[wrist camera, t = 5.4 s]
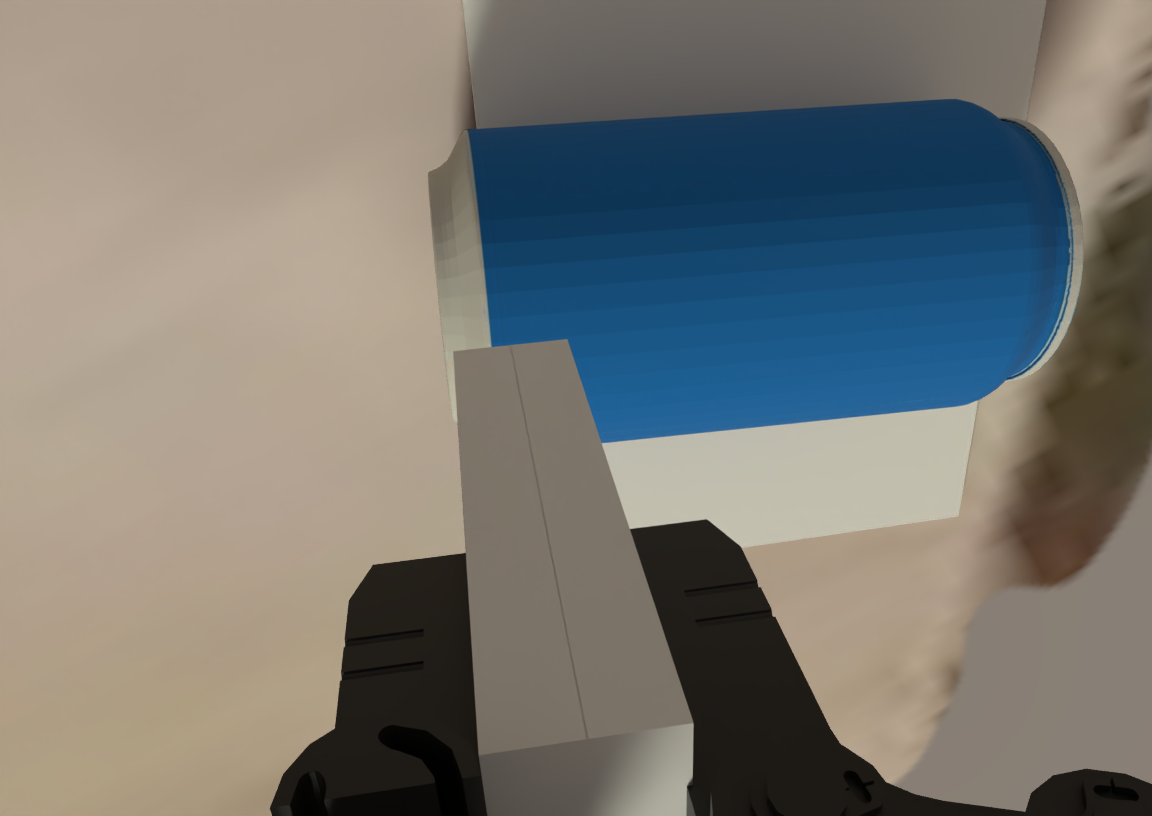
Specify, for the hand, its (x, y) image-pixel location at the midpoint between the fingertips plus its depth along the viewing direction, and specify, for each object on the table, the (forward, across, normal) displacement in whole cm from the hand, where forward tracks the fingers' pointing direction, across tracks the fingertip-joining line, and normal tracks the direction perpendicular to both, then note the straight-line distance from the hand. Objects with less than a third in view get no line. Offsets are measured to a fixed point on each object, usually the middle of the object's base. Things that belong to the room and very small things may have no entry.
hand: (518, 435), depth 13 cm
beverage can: (+7, -1, -1) cm, 7 cm away
